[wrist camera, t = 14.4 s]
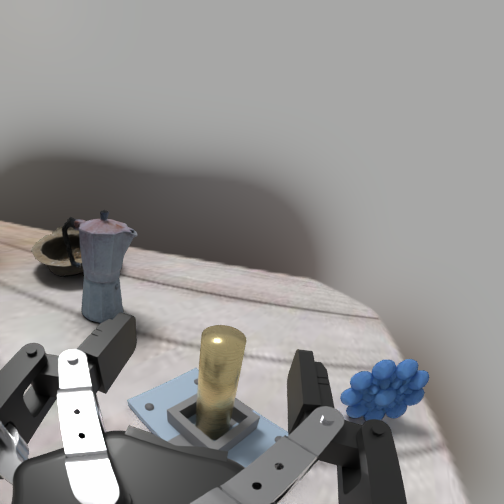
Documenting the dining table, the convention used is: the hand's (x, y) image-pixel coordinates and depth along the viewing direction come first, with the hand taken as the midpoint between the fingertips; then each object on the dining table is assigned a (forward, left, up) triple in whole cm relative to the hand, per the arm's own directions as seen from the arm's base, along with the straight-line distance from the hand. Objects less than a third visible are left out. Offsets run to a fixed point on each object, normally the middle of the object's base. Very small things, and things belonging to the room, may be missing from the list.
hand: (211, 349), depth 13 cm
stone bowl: (-63, +11, -22) cm, 68 cm away
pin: (-6, +8, -20) cm, 23 cm away
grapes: (+9, +25, -22) cm, 34 cm away
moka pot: (-39, +9, -22) cm, 46 cm away
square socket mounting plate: (-6, +8, -21) cm, 24 cm away
